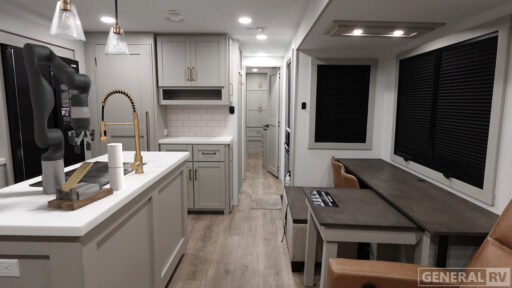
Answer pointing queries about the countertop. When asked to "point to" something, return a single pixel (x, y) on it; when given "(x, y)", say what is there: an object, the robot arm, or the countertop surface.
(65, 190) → the plate
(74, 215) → the countertop surface
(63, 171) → the robot arm
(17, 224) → the countertop surface
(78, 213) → the countertop surface
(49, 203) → the stand
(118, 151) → the cylindrical container
